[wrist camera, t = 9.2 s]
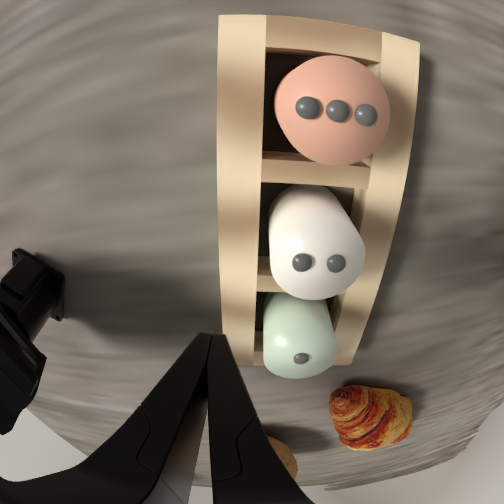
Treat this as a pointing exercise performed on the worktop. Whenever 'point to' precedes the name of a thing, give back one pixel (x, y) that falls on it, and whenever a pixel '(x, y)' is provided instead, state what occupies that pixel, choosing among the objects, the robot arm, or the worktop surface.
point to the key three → (332, 110)
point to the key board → (303, 166)
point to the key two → (313, 243)
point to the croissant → (370, 416)
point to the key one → (297, 336)
